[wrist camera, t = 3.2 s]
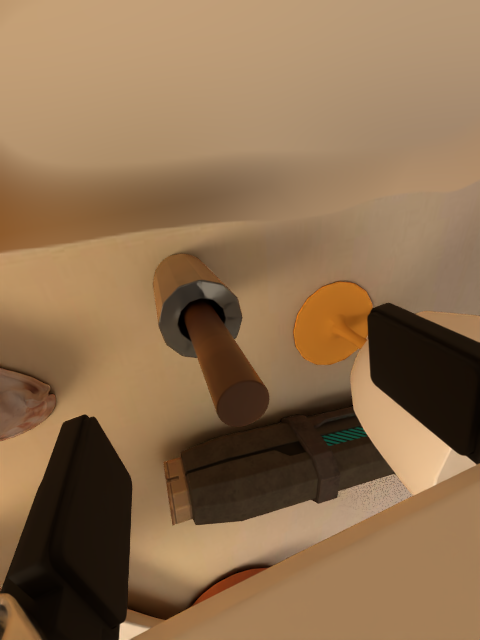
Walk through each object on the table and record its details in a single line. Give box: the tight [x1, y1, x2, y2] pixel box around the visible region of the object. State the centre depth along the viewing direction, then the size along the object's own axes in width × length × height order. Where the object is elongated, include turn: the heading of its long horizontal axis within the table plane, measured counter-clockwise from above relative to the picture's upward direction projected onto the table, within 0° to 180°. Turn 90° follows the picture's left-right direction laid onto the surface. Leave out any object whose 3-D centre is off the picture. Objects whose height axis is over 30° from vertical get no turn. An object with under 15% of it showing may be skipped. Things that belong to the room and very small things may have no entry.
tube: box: [163, 407, 395, 525], centre depth 31 cm, size 11×7×30 cm
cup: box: [293, 281, 480, 496], centre depth 23 cm, size 12×12×17 cm
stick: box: [181, 298, 269, 427], centre depth 17 cm, size 2×2×16 cm
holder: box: [153, 253, 242, 358], centre depth 20 cm, size 4×4×9 cm
